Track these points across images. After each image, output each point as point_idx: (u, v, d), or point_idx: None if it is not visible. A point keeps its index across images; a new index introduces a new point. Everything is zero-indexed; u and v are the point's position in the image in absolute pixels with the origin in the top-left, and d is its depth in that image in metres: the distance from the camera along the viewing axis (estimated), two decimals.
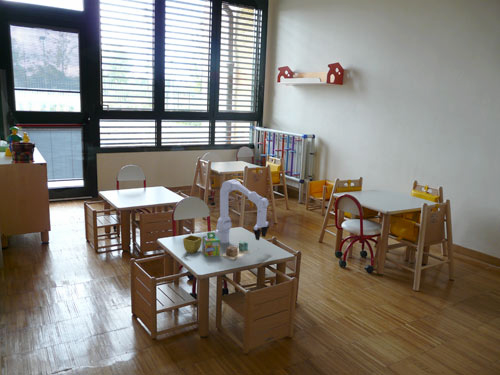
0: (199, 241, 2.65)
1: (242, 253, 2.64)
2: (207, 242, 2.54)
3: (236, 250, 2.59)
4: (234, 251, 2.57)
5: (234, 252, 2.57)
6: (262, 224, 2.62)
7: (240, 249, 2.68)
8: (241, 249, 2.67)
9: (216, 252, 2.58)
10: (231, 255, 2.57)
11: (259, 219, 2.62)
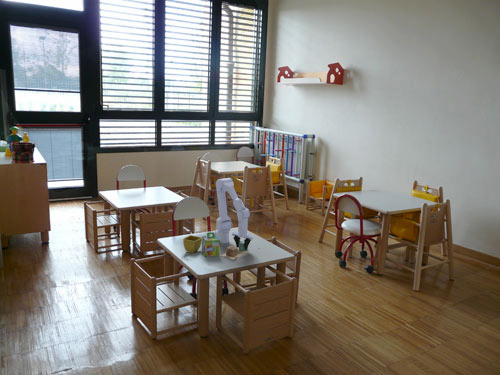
0: (199, 241, 2.65)
1: (242, 253, 2.64)
2: (207, 242, 2.54)
3: (236, 250, 2.59)
4: (234, 251, 2.57)
5: (234, 252, 2.57)
6: (238, 233, 2.66)
7: (240, 249, 2.68)
8: (241, 249, 2.67)
9: (216, 252, 2.58)
10: (231, 255, 2.57)
11: None
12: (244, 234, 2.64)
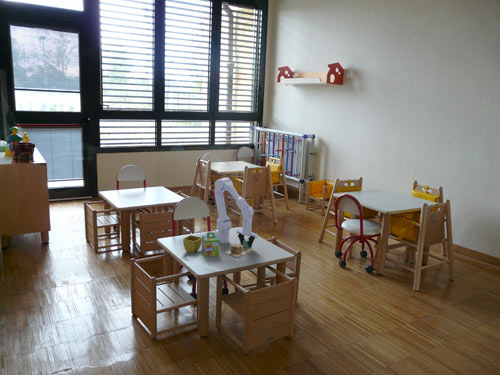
0: (199, 241, 2.65)
1: (246, 251, 2.68)
2: (207, 242, 2.54)
3: (240, 248, 2.63)
4: (238, 249, 2.61)
5: (238, 250, 2.61)
6: (242, 231, 2.71)
7: (244, 247, 2.72)
8: (245, 247, 2.72)
9: (215, 252, 2.58)
10: (235, 253, 2.61)
11: None
12: (248, 232, 2.69)
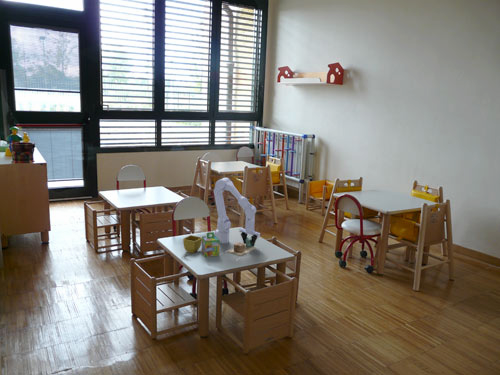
0: (199, 241, 2.65)
1: (249, 249, 2.70)
2: (207, 242, 2.54)
3: (243, 246, 2.66)
4: (241, 247, 2.64)
5: (241, 248, 2.64)
6: (245, 230, 2.74)
7: (247, 245, 2.75)
8: (248, 245, 2.74)
9: (215, 252, 2.58)
10: (238, 251, 2.63)
11: None
12: (251, 231, 2.71)
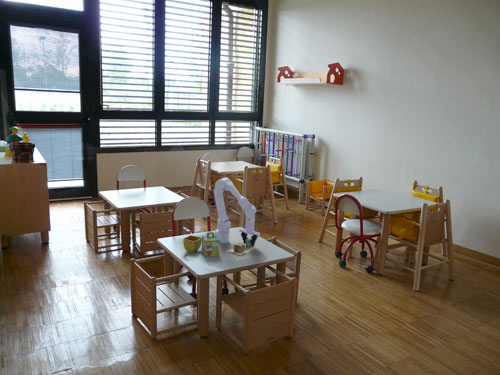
0: (199, 241, 2.65)
1: (249, 249, 2.70)
2: (207, 242, 2.54)
3: (243, 246, 2.66)
4: (241, 247, 2.64)
5: (241, 248, 2.64)
6: (245, 230, 2.74)
7: (247, 245, 2.75)
8: (248, 245, 2.74)
9: (215, 252, 2.58)
10: (238, 251, 2.63)
11: None
12: (251, 231, 2.71)
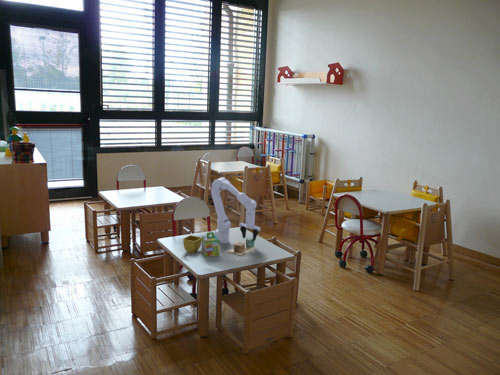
0: (199, 241, 2.65)
1: (249, 249, 2.70)
2: (207, 242, 2.54)
3: (243, 246, 2.66)
4: (241, 247, 2.64)
5: (241, 248, 2.64)
6: (245, 224, 2.73)
7: (247, 245, 2.75)
8: (248, 245, 2.74)
9: (215, 252, 2.58)
10: (238, 251, 2.63)
11: None
12: (251, 225, 2.71)
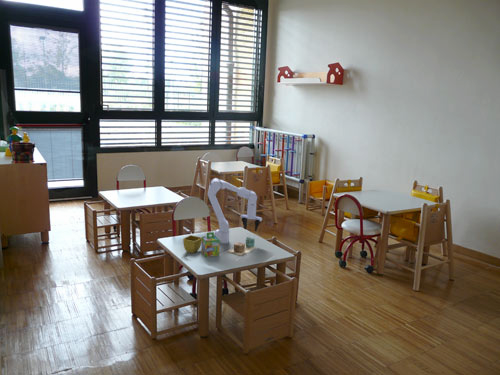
0: (199, 241, 2.65)
1: (249, 249, 2.70)
2: (207, 242, 2.54)
3: (243, 246, 2.66)
4: (241, 247, 2.64)
5: (241, 248, 2.64)
6: (247, 215, 2.80)
7: (247, 245, 2.75)
8: (248, 245, 2.74)
9: (215, 252, 2.58)
10: (238, 251, 2.63)
11: None
12: (253, 216, 2.79)
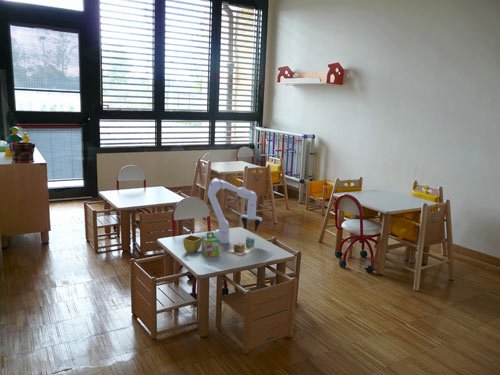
0: (199, 241, 2.65)
1: (249, 249, 2.70)
2: (207, 242, 2.54)
3: (243, 246, 2.66)
4: (241, 247, 2.64)
5: (241, 248, 2.64)
6: (247, 215, 2.80)
7: (247, 245, 2.75)
8: (248, 245, 2.74)
9: (215, 252, 2.58)
10: (238, 251, 2.63)
11: None
12: (253, 216, 2.79)
